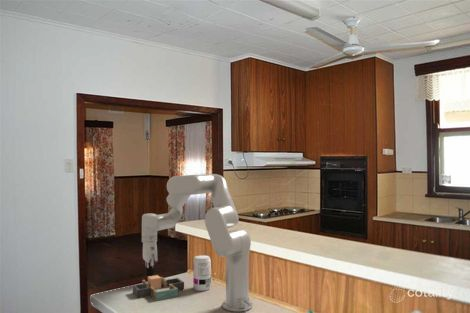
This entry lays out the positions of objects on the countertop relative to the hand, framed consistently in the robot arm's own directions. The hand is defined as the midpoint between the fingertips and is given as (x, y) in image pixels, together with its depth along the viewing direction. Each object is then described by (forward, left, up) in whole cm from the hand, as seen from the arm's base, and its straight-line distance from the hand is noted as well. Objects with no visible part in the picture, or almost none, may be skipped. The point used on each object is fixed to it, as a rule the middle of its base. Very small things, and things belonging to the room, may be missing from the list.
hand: (149, 275), depth 187 cm
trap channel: (-14, 0, -4) cm, 15 cm away
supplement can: (-21, -19, -4) cm, 29 cm away
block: (-8, 0, -4) cm, 9 cm away
